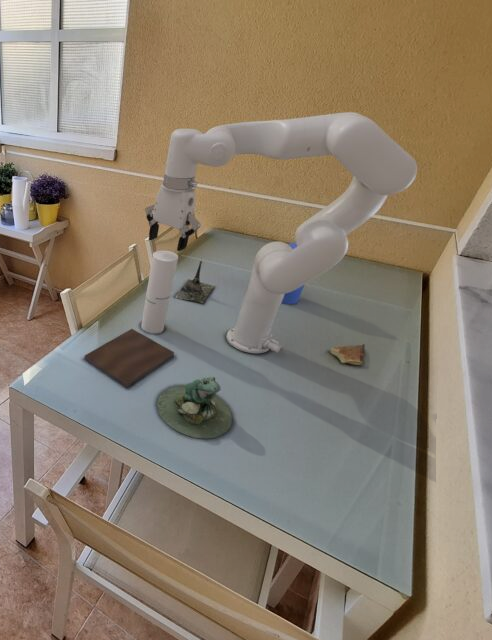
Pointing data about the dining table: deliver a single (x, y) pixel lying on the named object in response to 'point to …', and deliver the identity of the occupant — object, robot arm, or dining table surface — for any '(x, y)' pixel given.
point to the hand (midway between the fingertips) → (166, 244)
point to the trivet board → (129, 357)
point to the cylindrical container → (159, 291)
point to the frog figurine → (195, 409)
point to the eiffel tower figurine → (195, 289)
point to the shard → (349, 354)
